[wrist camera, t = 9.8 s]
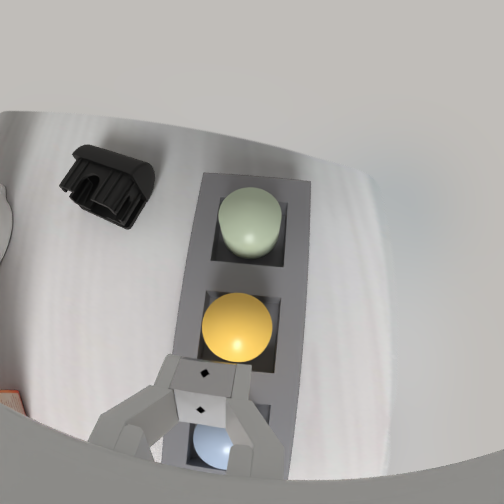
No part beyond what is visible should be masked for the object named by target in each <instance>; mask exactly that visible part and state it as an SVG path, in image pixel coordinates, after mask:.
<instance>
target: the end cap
mask: <svg viewBox="0 0 504 504" xmlns="http://www.w3.org/2000/svg"><path fill="white" fill-rule="evenodd" d="M72 155H73V156H74V158H75V159H76V162H75V163H74V164H73V166H72V167H71V169H70V170H69V172H68V173H67V175H66V176H65V178H64V179H63V180H62V182H61V183H60V185H59V187H60V188H61V189H62V190H63V191H64V192H67V191H68V190H69V191H71V192H72V193H71V194H70V196H69V197H70V198H71V199H72V200H73V201H74V202H75V203H76V204H78V205H79V206H80V207H81V208H82V209H84V210H86V211H88V212H90V213H92V214H94V215H96V216H99V217H101V218H103V219H105V220H107V221H109V222H111V223H114V224H116V225H118V226H120V227H122V228H124V229H131V227H132V226H133V224H134V223H135V221H136V219H137V218H138V216H139V214H140V213H141V211H142V209H143V208H144V206H145V204H146V202H147V201H148V199H149V198H150V195H151V193H152V190H153V187H154V181H155V174H154V170H153V167H152V166H151V165H150V164H149V163H147V162H143V161H140V160H137V159H134V158H131V157H128V156H125V155H122V154H118V153H115V152H112V151H109V150H106V149H102V148H99V147H96V146H92V145H83V146H81V147H79V148H78V149H76V150H75V151H74V153H73V154H72Z"/></svg>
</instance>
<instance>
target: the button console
mask: <svg viewBox="0 0 504 504" xmlns="http://www.w3.org/2000/svg"><path fill="white" fill-rule="evenodd" d="M247 187H254V188H259V189H262V190H265V191H267V192H268V193H270V194H271V195H272V196H273V197H274V198H275V199H276V200H277V201H278V203H279V205H280V208H281V213H282V217H281V224H280V230H279V236H278V240H277V243H276V245H275V247H274V248H273V249H272V251H270V252H269V253H268V254H267V255H265V256H263V257H260V258H257V259H244V258H241V257H238V256H236V255H234V254H233V253H232V252H231V251H230V250H229V249H228V248H227V247H226V245H225V243H224V240H223V236H222V231H221V227H220V223H219V217H218V214H219V208H220V206H221V204H222V202H223V200H224V199H225V198H226V197H227V196H228V195H229V194H230V193H232V192H234V191H236V190H238V189H241V188H247ZM310 199H311V181H303V180H294V179H283V178H273V177H261V176H248V175H234V174H218V173H203V178H202V182H201V187H200V192H199V197H198V202H197V207H196V212H195V217H194V222H193V227H192V232H191V238H190V243H189V249H188V254H187V260H186V266H185V272H184V278H183V284H182V290H181V296H180V303H179V310H178V316H177V323H176V330H175V337H174V345H173V352H172V355H177V356H184V357H190V358H196V359H202V360H208V361H217V362H226V363H235V364H245V365H252V369H251V380H250V390H249V400H250V401H252V402H253V403H254V405H255V406H256V408H257V409H258V411H259V412H260V414H261V415H262V416H263V418H264V419H265V421H266V422H267V424H268V425H269V427H270V428H271V430H272V431H273V432H274V434H275V435H276V437H277V438H278V439H279V441H280V442H281V444H282V445H283V446H284V480H288V475H289V468H290V461H291V454H292V446H293V438H294V430H295V422H296V413H297V404H298V395H299V385H300V374H301V363H302V352H303V340H304V327H305V312H306V297H307V280H308V259H309V235H310ZM230 293H245V294H248V295H251V296H253V297H255V298H257V299H258V300H259V301H261V302H262V303H263V304H264V305H265V307H266V308H267V310H268V312H269V314H270V316H271V320H272V335H271V338H270V341H269V343H268V345H267V346H266V348H265V350H264V351H263V352H262V353H261V354H260V355H259V356H258V357H256V358H254V359H252V360H250V361H246V362H233V361H228V360H225V359H222V358H220V357H218V356H217V355H216V354H214V353H213V352H212V351H211V350H210V349H209V347H208V346H207V344H206V342H205V340H204V337H203V333H202V321H203V317H204V314H205V312H206V310H207V309H208V307H209V306H210V305H211V304H212V303H213V302H214V301H215V300H216V299H218V298H219V297H221V296H223V295H226V294H230ZM196 426H197V424H194V423H188V422H181V421H178V423H177V424H176V425H175V426H174V427H173V428H172V429H171V430H169V431H168V432H167V433H166V434H165V435H164V436H163V448H162V462H161V463H162V464H166V465H171V466H176V467H181V468H186V469H191V470H197V471H203V472H209V473H216V474H223V475H226V470H224V469H218V468H215V467H213V466H211V465H209V464H207V463H206V462H205V461H203V460H202V459H201V458H200V456H199V455H198V453H197V452H196V450H195V447H194V443H193V435H194V431H195V428H196Z"/></svg>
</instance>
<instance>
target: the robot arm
mask: <svg viewBox="0 0 504 504" xmlns="http://www.w3.org/2000/svg"><path fill="white" fill-rule="evenodd" d="M11 230H12V211H11V208H10V205H9V204H8V202H7V200H6V189H5V186H3V185H2V184H0V261H1V259H2V258H3V256H4V253H5V251H6V249H7V246H8V243H9V239H10V235H11ZM251 369H252V365H245V364H235V363H226V362H217V361H208V360H202V359H196V358H190V357H184V356H177V355H172V354H168V355H167V356H166V357H165V360H164V362H163V364H162V367H161V369H160V371H159V374H158V376H157V379H156V381H155V383H154V386H152V385H149V386H147V387H146V388H144V389H143V390H141V391H139V392H138V393H136V394H135V395H133V396H131V397H130V398H128V399H126V400H125V401H123V402H121V403H120V404H118V405H117V406H115V407H113V408H112V409H110V410H108V411H107V412H105V413H103V414H101V415H100V417H99V419H98V421H97V423H96V425H95V427H94V429H93V431H92V433H91V435H90V437H89V439H88V441H84V440H81V439H78V438H76V437H73V436H71V435H68V434H66V433H63V432H61V431H58V430H56V429H53V428H51V427H49V426H47V425H44V424H42V423H40V422H38V421H36V420H33V419H31V418H29V417H27V416H25V415H23V414H21V413H19V412H17V411H15V410H13V409H11V408H9V407H7V406H6V405H4V404H2V403H0V504H504V450H500V451H497V452H494V453H491V454H488V455H485V456H481V457H477V458H474V459H470V460H467V461H463V462H459V463H455V464H450V465H446V466H442V467H438V468H432V469H427V470H422V471H417V472H410V473H404V474H396V475H389V476H380V477H370V478H358V479H342V480H284V446H283V445H282V444H281V442H280V441H279V439H278V438H277V437H276V435H275V434H274V432H273V431H272V430H271V428H270V427H269V425H268V424H267V422H266V421H265V419H264V418H263V416H262V415H261V414H260V412H259V411H258V409H257V408H256V406H255V405H254V403H253V402H252V401H250V400H249V390H250V380H251ZM178 421H181V422H188V423H194V424H202V425H207V426H213V427H219V428H226V431H227V433H228V435H229V438H230V440H231V441H232V443H233V446H232V447H230V453H229V459H228V464H227V470H226V475H223V474H216V473H209V472H203V471H197V470H191V469H186V468H181V467H176V466H171V465H166V464H162V463H157V462H155V461H154V458H153V456H152V453H151V451H150V447H151V446H152V445H153V444H154V443H156V442H157V441H158V440H159V439H160V438H161V437H163V436H164V435H165V434H166V433H167V432H168V431H169V430H171V429H172V428H173V427H174V426H175V425H176V424H177V423H178Z"/></svg>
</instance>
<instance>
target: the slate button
mask: <svg viewBox="0 0 504 504" xmlns="http://www.w3.org/2000/svg"><path fill="white" fill-rule="evenodd" d="M193 443H194V447H195V450H196V452H197V453H198V455H199V456H200V458H201V459H202V460H203V461H205V462H206V463H207V464H209V465H211V466H213V467H215V468H218V469H224V470H227V464H228V459H229V453H230V447H232V446H233V443H232V441H231V440H230V438H229V435H228V433H227V431H226V428H219V427H213V426H207V425H202V424H197V426H196V428H195V431H194V435H193Z"/></svg>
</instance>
